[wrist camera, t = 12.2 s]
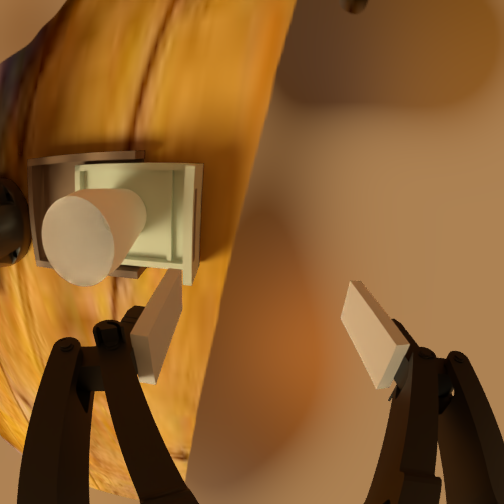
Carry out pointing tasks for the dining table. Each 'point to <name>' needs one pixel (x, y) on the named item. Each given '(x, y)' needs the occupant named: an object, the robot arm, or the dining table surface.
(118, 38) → the dining table surface
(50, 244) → the cup
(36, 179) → the dock
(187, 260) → the tray
